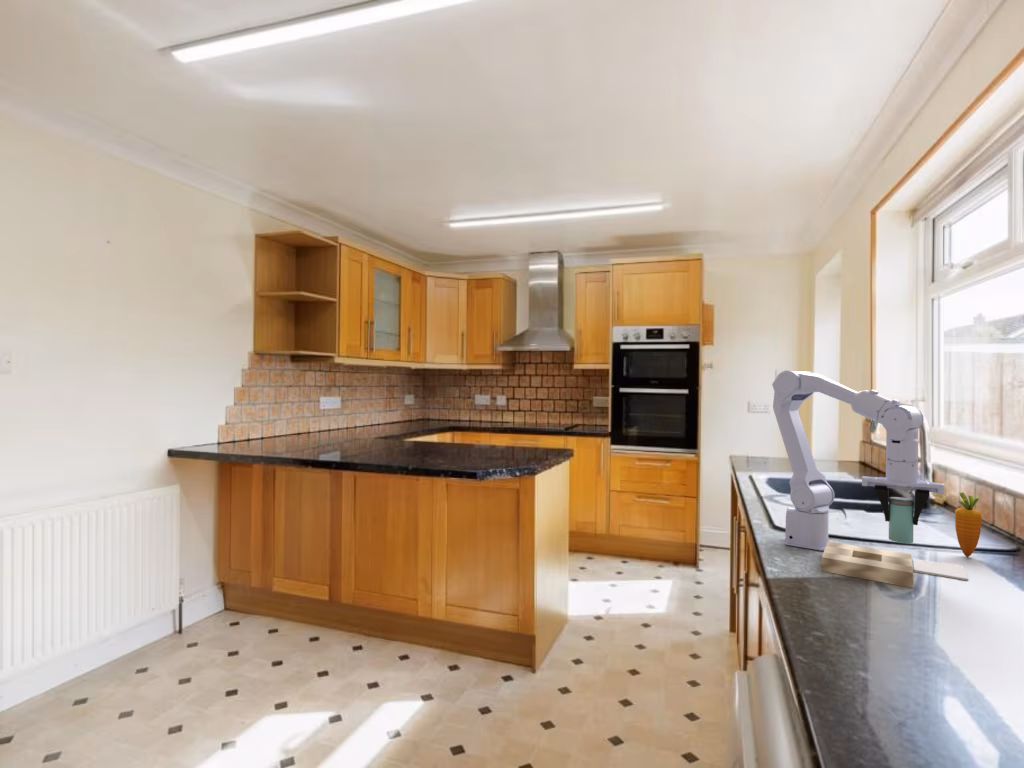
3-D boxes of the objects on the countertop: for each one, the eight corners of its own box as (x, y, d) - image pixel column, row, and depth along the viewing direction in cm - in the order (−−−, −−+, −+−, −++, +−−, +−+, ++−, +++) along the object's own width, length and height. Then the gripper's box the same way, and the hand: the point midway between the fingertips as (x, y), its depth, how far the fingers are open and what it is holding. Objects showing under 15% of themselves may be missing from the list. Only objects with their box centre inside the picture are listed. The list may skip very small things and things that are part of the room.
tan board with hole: (821, 570, 118) (821, 557, 118) (827, 553, 129) (828, 541, 129) (912, 587, 109) (912, 572, 109) (911, 567, 120) (911, 554, 120)
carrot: (986, 561, 125) (987, 496, 125) (961, 559, 126) (962, 495, 126) (972, 554, 130) (973, 491, 129) (948, 552, 131) (950, 490, 130)
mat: (914, 571, 118) (914, 569, 118) (913, 560, 125) (913, 558, 125) (968, 580, 113) (968, 578, 113) (963, 568, 120) (963, 566, 120)
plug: (887, 540, 118) (888, 499, 118) (888, 535, 122) (889, 496, 122) (913, 544, 116) (913, 502, 115) (913, 539, 119) (914, 498, 119)
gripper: (861, 459, 120) (860, 520, 120) (945, 465, 111) (944, 531, 111) (863, 455, 125) (862, 514, 125) (943, 461, 117) (942, 524, 117)
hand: (901, 522), depth 119 cm, fingers closed on plug, 4 cm apart
